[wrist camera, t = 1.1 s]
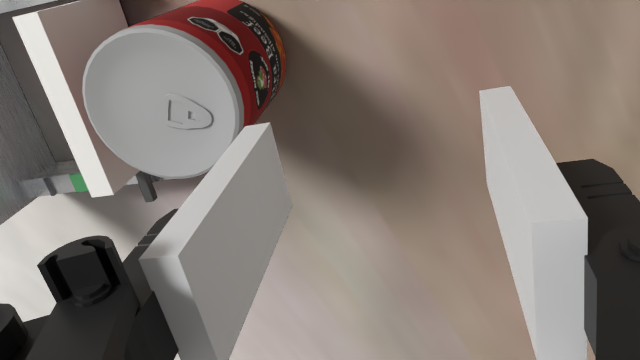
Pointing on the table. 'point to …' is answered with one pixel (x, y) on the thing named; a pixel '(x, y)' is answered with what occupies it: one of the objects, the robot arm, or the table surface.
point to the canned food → (183, 85)
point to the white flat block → (78, 84)
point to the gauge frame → (29, 145)
